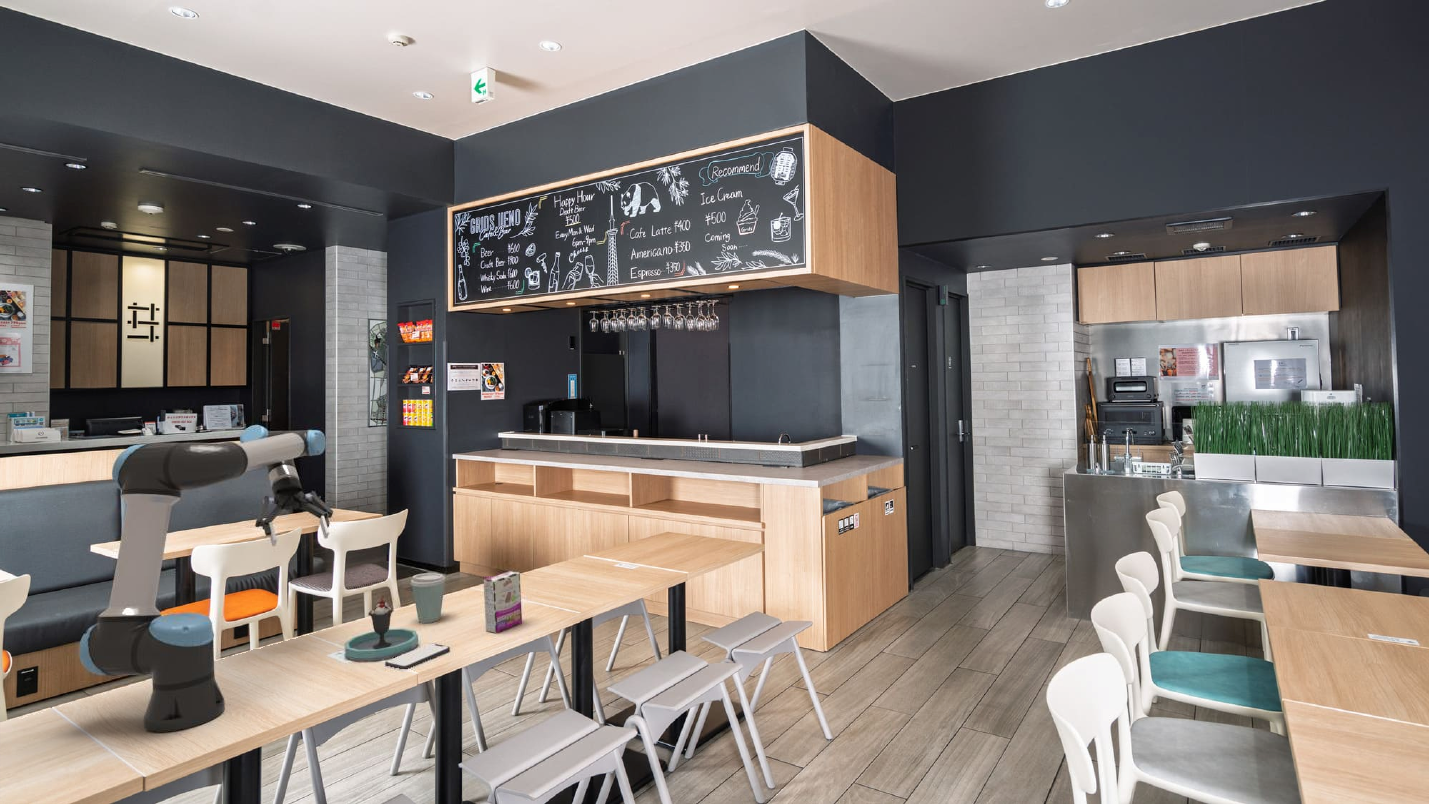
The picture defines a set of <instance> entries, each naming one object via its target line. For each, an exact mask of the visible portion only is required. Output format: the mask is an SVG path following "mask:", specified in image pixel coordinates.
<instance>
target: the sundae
mask: <svg viewBox="0 0 1429 804" xmlns="http://www.w3.org/2000/svg"><path fill="white" fill-rule="evenodd" d="M384 597H385V596H384V595H382V597H381V599H380V601H378V602H377V603H376V604H375V607H374V608H373V609H372V610H370V611H369V612H368V616H370V617H371V620H372V621H371V622H372V628H373V630H374V631H375V632H376V633H377V634H379V635H380V641H379V643H378V644H376V645H374V646H373V648H374V649H382V648H387V647H389V646H391V645H392V644H391V643H386V642H385V639H384V634H385V633H386V632H387V631H388V630H389V629H390V625H391V616H392V613H393V612H394V611H395V610H394V609H392V608H391V607H390V606H389V604H388V603H387V602H386V600H385V599H384Z"/></svg>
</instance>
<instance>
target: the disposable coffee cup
mask: <svg viewBox="0 0 1429 804" xmlns="http://www.w3.org/2000/svg"><path fill="white" fill-rule="evenodd" d="M445 583H446V577H445V576H444V575H443V574H442V573H435V572H434V573H431V572H429V573H428V572H427V573H419V574H415V575H413V576H412V579H411V580H410V585H411V586H412V592H413V593H412V594H413V597H414V603H415V609H416V614H417V619H418V621H419V623H420V624H431V622H432V623H435V622H434V621H436V622H438V621H439V620H440V619H441V614H442V607H443V600H444V591H445V585H446V584H445ZM438 619H439V620H438Z"/></svg>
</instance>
